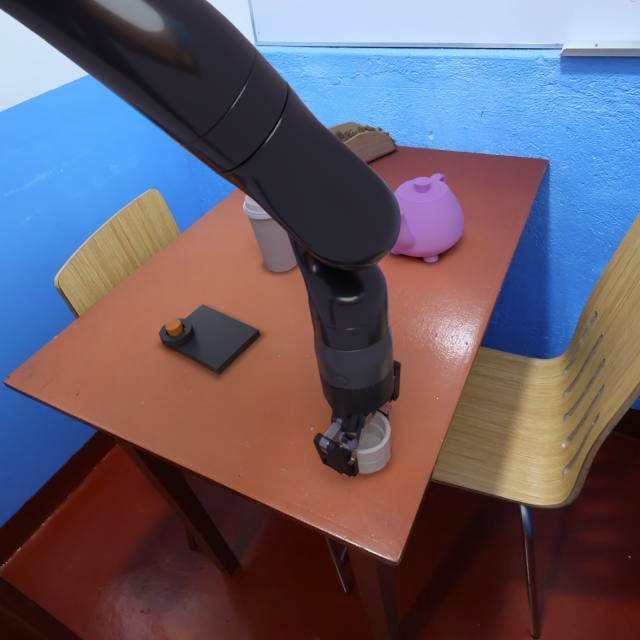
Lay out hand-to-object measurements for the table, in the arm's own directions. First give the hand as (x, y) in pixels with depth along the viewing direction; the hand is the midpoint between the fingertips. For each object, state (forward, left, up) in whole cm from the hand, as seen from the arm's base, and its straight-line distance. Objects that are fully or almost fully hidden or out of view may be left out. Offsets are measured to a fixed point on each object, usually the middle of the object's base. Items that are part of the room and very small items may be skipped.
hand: (365, 449), depth 57 cm
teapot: (+45, +16, -4) cm, 48 cm away
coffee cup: (+29, +38, -4) cm, 48 cm away
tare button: (+3, +40, -1) cm, 40 cm away
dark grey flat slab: (+6, +35, -3) cm, 36 cm away
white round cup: (0, 0, -1) cm, 1 cm away
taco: (+69, +48, -4) cm, 84 cm away
